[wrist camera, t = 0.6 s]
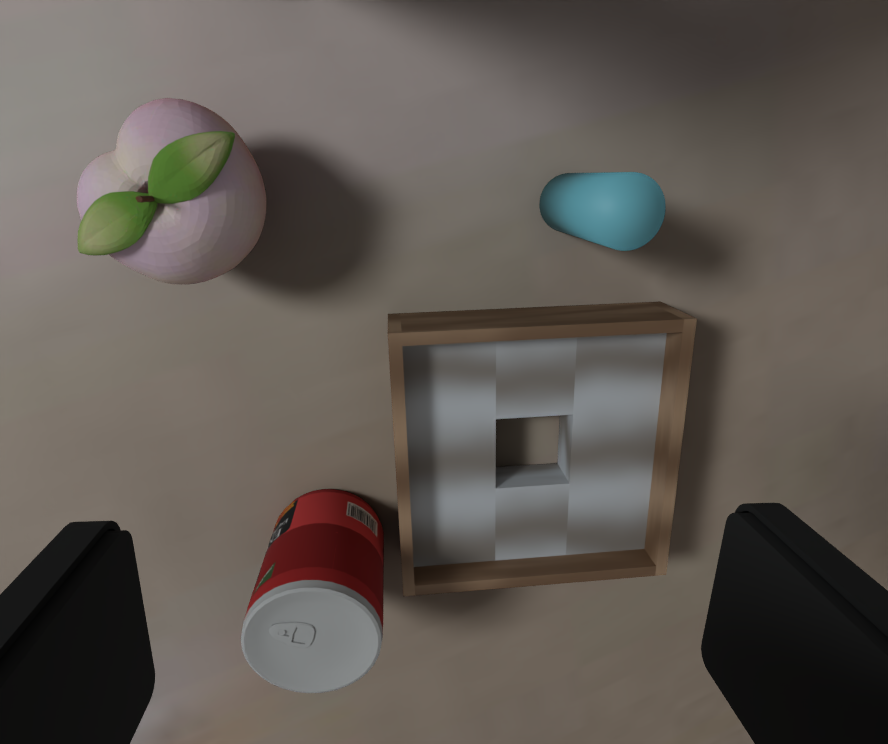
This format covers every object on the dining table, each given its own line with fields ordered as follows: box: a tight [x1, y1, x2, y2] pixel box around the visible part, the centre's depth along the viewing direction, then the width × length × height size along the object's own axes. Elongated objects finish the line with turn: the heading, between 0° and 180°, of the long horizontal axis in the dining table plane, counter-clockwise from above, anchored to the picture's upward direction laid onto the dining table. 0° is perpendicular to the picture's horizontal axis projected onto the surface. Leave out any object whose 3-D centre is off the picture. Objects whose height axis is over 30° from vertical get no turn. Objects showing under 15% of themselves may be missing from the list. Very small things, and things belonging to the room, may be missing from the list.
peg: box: [540, 172, 665, 251], centre depth 32 cm, size 4×4×10 cm
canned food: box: [241, 489, 384, 693], centre depth 38 cm, size 8×8×11 cm
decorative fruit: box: [77, 98, 266, 284], centre depth 30 cm, size 9×8×10 cm
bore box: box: [388, 302, 697, 596], centre depth 39 cm, size 19×19×5 cm
